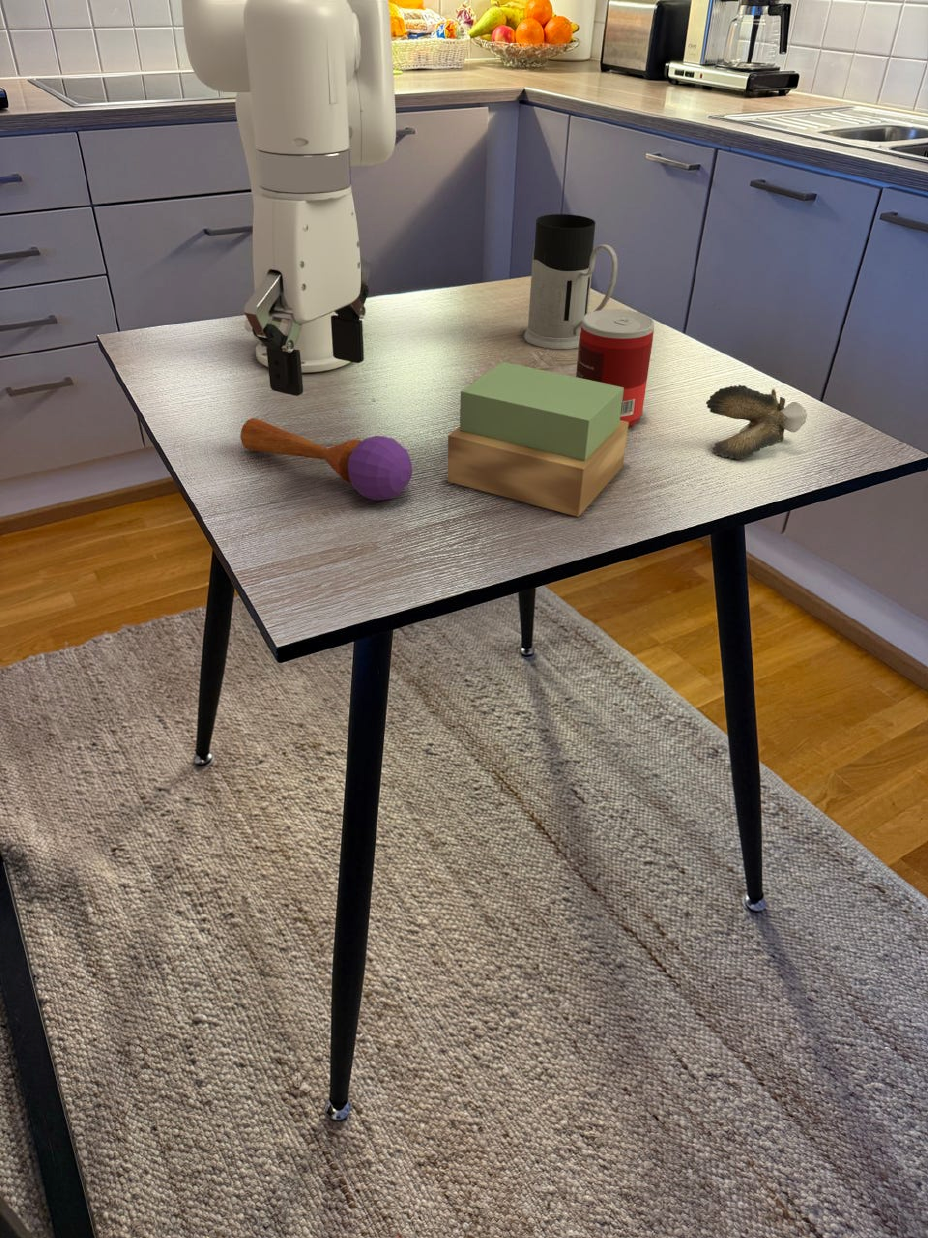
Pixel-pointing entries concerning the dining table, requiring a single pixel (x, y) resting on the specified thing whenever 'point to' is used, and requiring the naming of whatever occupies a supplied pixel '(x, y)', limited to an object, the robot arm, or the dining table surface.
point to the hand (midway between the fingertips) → (318, 375)
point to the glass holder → (562, 279)
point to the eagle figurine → (754, 419)
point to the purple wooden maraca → (341, 457)
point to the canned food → (617, 355)
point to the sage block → (541, 410)
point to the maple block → (534, 470)
